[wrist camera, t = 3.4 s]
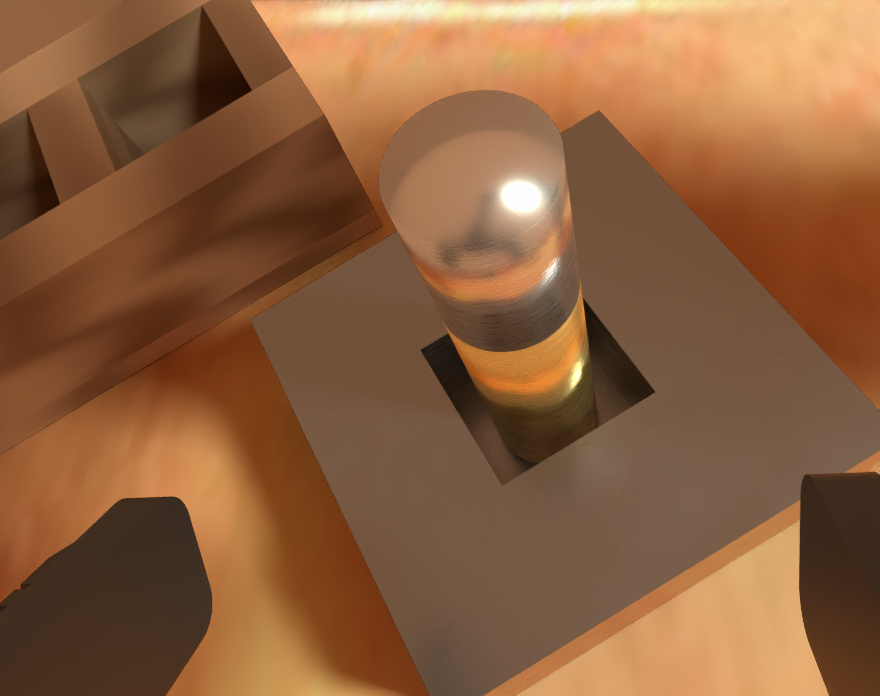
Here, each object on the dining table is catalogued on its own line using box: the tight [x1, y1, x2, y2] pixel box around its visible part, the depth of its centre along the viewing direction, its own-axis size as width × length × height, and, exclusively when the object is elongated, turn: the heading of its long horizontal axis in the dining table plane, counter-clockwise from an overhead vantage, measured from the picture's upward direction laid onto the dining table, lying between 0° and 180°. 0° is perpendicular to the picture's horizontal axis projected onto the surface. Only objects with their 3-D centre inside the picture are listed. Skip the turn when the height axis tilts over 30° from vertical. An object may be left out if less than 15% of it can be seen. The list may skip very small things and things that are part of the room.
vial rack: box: [0, 0, 382, 454], centre depth 28 cm, size 22×10×6 cm, turn 119°
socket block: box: [250, 111, 880, 696], centre depth 22 cm, size 12×12×4 cm
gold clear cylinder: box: [378, 90, 597, 464], centre depth 17 cm, size 3×3×12 cm
